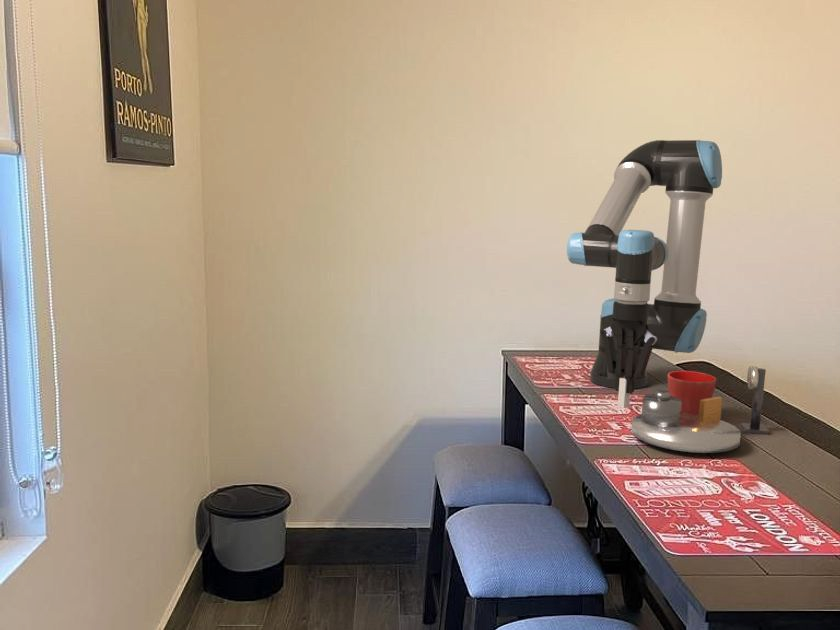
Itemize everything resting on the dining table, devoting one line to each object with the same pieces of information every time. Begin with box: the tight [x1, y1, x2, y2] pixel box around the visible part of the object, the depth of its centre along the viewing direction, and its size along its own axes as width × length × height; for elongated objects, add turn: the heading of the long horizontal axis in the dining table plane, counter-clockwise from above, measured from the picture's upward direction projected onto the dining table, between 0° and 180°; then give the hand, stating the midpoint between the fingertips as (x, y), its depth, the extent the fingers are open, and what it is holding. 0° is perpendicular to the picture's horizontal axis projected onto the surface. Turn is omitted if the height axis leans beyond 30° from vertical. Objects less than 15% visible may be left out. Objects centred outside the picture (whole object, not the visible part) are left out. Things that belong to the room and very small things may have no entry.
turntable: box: [630, 396, 742, 454], centre depth 176 cm, size 22×22×7 cm
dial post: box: [740, 365, 770, 436], centre depth 185 cm, size 5×5×14 cm
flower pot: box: [667, 370, 717, 415], centre depth 195 cm, size 11×11×10 cm
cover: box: [641, 390, 682, 427], centre depth 179 cm, size 8×8×6 cm
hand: (623, 406), depth 185 cm, fingers closed
